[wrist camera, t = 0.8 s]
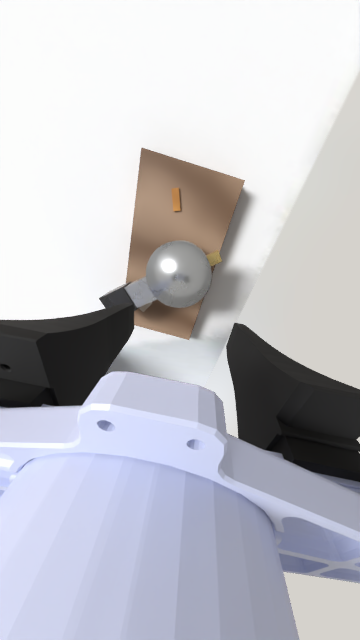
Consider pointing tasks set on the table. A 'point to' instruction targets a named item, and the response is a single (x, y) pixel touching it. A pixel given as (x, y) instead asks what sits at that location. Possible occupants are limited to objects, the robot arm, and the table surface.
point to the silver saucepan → (169, 278)
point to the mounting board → (177, 225)
